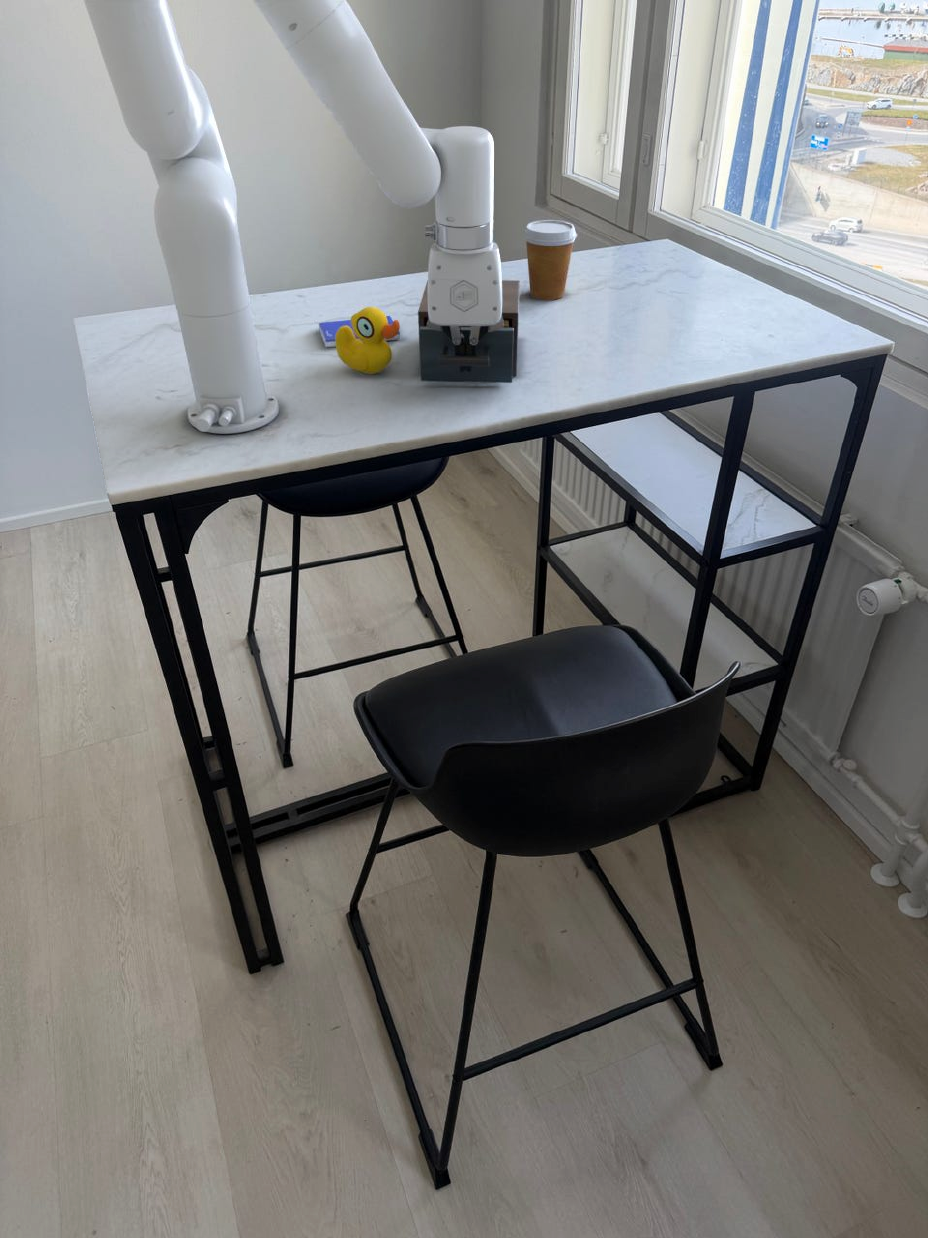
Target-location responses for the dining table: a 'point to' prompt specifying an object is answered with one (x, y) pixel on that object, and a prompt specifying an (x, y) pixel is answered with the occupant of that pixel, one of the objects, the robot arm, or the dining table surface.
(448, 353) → the drawer
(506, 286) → the cabinet
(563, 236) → the disposable coffee cup
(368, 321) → the duckling
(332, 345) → the hard drive
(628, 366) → the dining table surface
